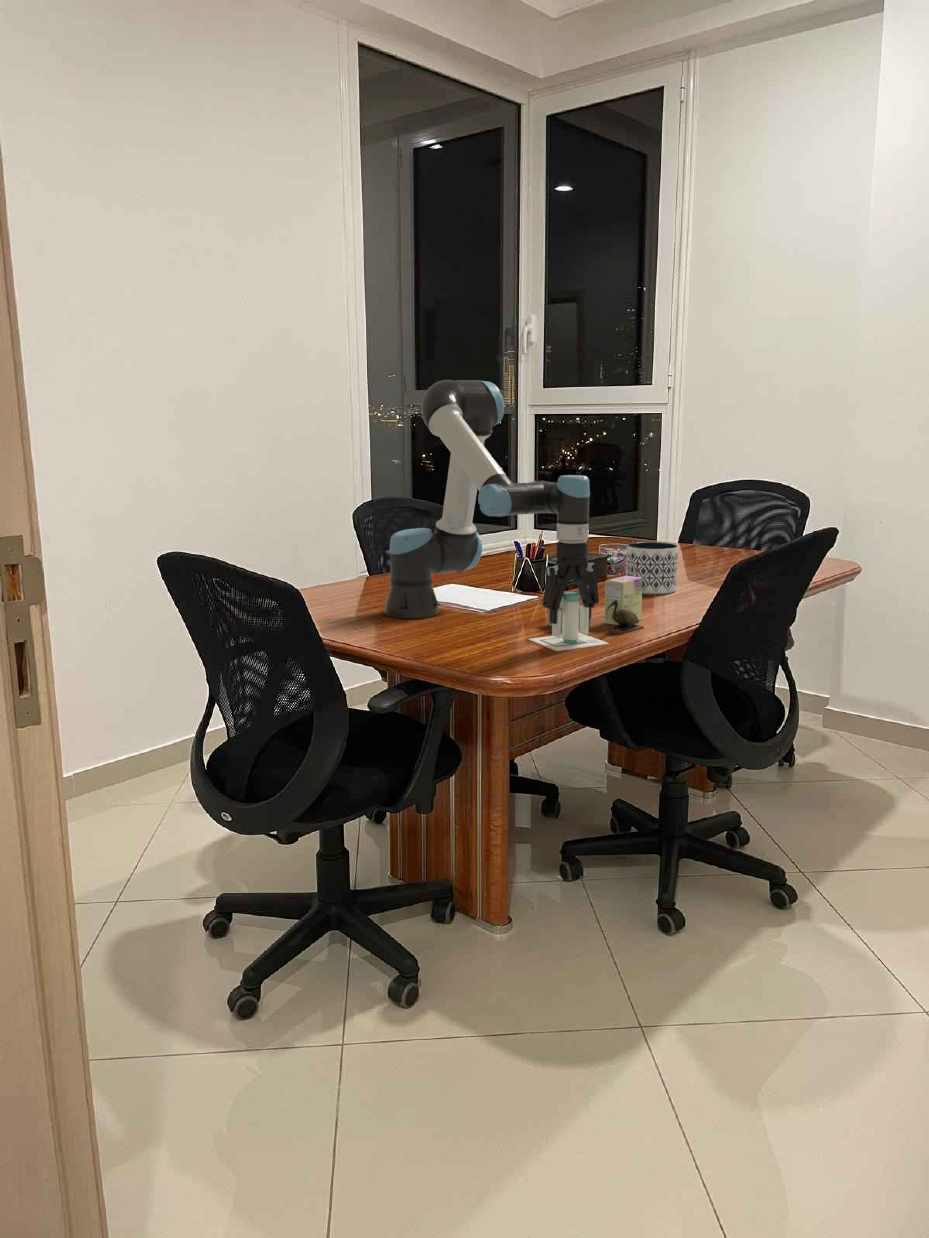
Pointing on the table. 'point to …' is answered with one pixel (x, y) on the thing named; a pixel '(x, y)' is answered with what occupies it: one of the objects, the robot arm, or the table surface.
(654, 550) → the planter
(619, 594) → the box
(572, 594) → the white teal cylinder
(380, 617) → the table surface
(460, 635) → the table surface
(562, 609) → the button box
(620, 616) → the figurine
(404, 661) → the table surface
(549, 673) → the table surface
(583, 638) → the sheet
